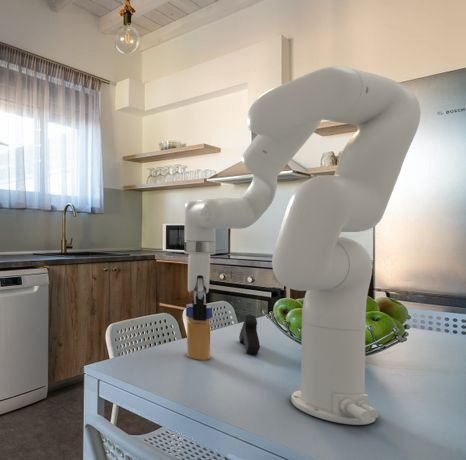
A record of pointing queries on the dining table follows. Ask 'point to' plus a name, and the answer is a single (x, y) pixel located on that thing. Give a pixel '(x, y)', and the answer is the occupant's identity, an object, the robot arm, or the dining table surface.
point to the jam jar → (198, 339)
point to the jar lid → (190, 311)
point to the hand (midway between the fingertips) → (199, 316)
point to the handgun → (250, 335)
